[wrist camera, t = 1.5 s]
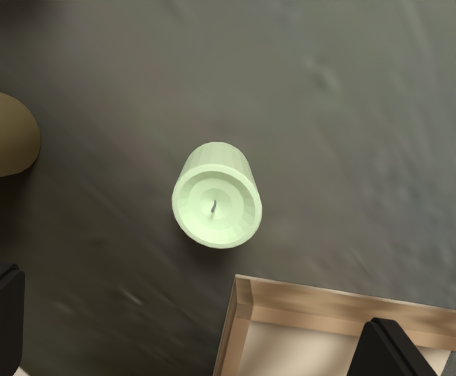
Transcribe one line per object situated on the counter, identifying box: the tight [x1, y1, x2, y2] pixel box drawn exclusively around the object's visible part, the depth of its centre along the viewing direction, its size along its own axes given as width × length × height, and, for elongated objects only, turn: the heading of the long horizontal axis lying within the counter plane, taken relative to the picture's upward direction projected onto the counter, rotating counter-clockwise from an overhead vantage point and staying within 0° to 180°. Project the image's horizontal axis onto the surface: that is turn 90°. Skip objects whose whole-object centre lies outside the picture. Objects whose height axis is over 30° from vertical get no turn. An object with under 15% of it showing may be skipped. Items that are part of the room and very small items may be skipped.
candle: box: [172, 142, 262, 249], centre depth 23 cm, size 5×5×8 cm
